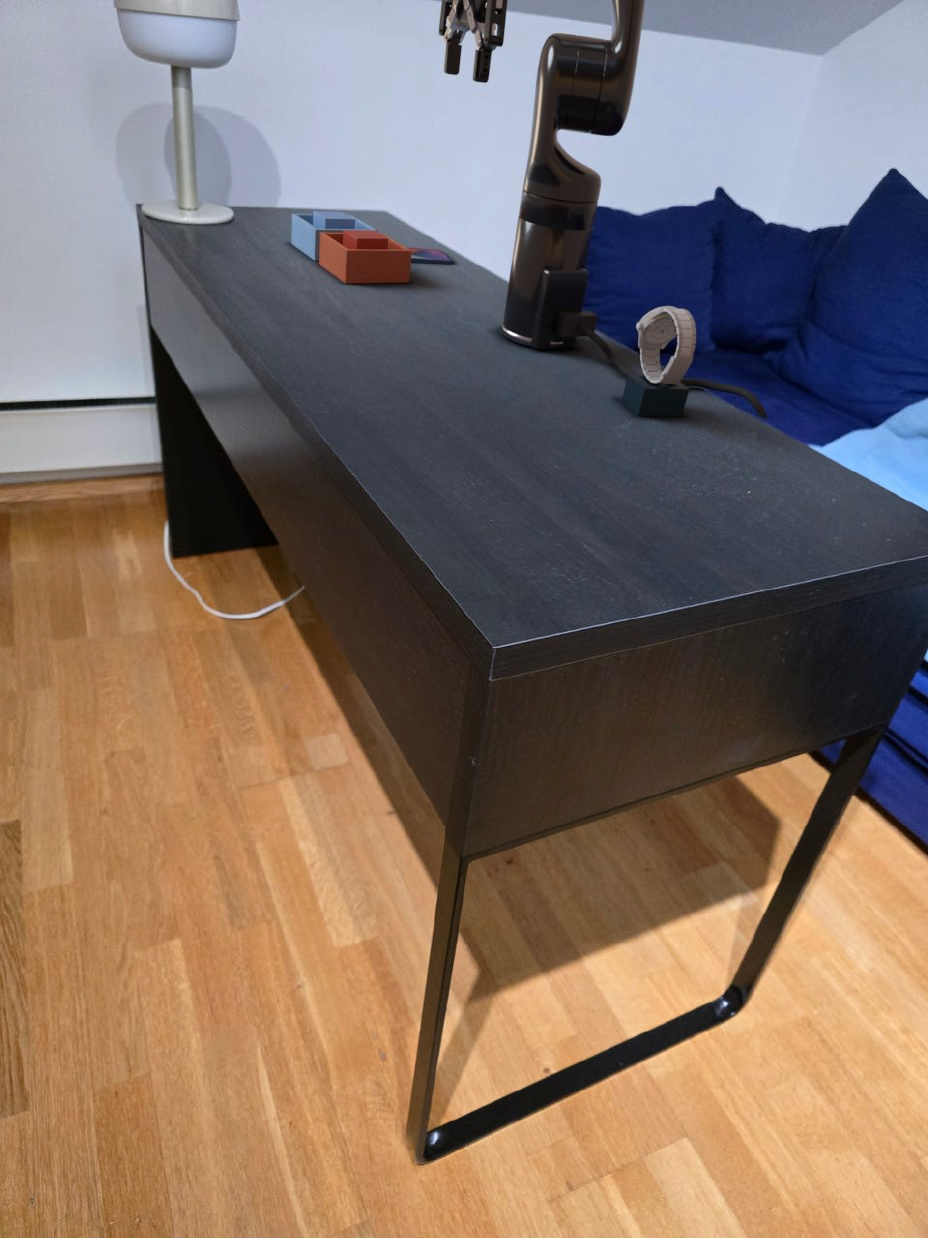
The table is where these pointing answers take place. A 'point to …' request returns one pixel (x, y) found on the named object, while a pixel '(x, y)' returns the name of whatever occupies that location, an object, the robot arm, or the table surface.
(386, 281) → the orange bin
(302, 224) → the blue bin
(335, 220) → the blue block
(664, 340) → the watch
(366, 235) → the red block
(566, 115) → the robot arm
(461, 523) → the table surface
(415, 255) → the smartphone
